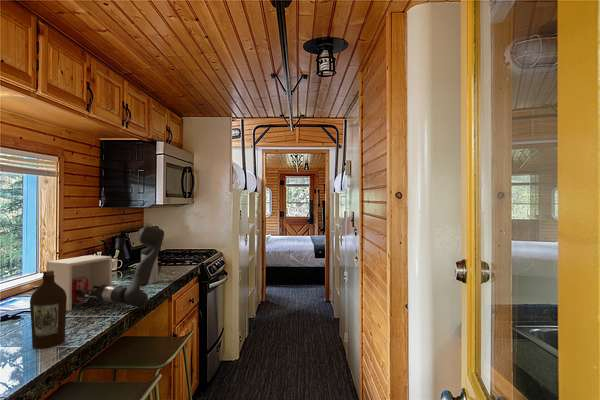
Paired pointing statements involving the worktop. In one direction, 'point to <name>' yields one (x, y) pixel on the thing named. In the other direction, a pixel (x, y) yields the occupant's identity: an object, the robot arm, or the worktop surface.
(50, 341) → the olive oil
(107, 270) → the cubby
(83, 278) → the soda can
